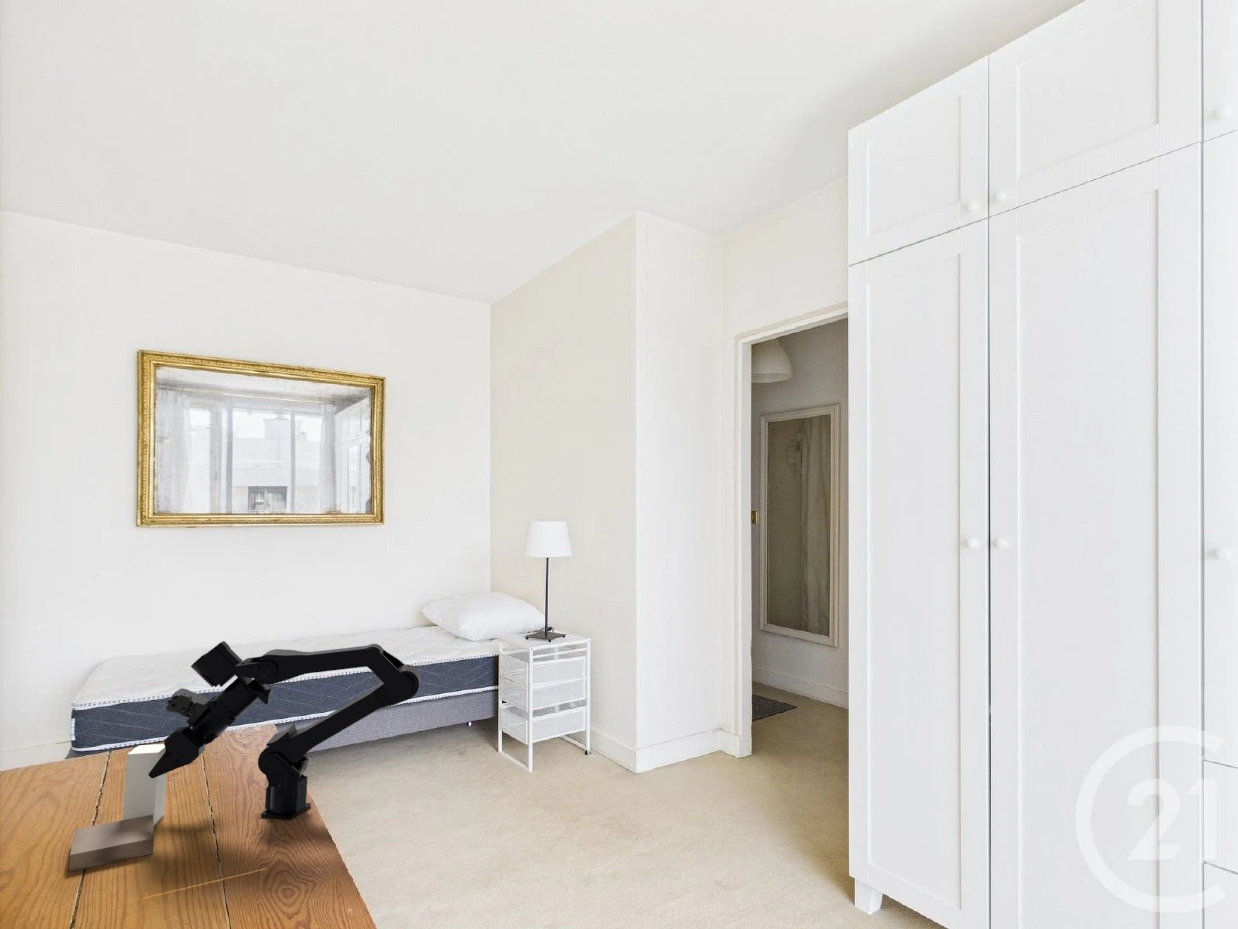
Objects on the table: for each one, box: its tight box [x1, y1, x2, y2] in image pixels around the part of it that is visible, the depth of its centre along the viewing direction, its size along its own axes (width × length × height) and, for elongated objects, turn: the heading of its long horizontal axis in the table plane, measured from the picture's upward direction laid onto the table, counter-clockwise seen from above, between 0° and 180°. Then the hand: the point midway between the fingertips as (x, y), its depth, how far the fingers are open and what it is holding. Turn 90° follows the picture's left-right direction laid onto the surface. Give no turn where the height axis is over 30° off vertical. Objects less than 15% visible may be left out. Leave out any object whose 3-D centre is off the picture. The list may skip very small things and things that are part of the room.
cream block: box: [121, 743, 168, 827], centre depth 128 cm, size 5×5×13 cm
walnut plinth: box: [68, 815, 155, 872], centre depth 117 cm, size 11×11×2 cm
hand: (160, 767), depth 128 cm, fingers open, 9 cm apart
